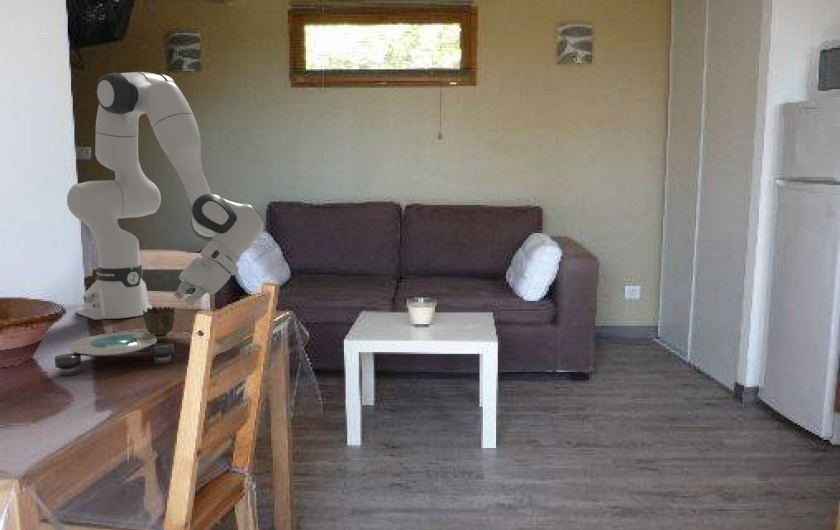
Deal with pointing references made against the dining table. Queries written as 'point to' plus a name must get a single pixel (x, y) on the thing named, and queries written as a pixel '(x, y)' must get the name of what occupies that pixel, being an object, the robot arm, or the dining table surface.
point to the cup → (159, 321)
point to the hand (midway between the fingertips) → (182, 300)
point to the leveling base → (112, 349)
